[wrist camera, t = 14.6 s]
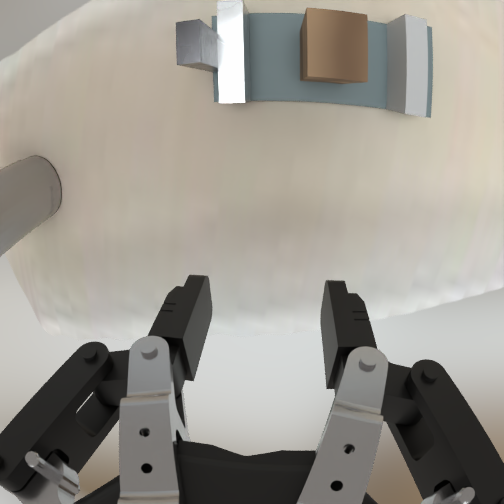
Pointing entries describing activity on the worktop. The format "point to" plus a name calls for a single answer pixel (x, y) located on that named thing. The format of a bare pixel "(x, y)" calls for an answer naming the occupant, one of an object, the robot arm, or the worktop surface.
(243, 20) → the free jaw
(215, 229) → the worktop surface
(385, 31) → the vise
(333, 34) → the block
